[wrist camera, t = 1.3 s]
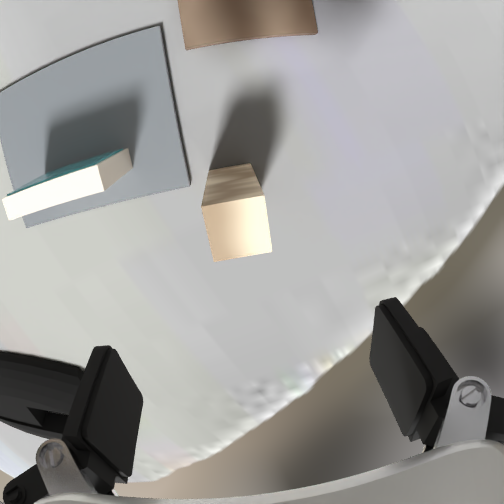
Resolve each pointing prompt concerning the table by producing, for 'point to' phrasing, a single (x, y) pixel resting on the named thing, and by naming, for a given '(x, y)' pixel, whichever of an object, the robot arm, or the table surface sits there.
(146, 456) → the table surface
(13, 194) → the tile
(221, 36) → the plate
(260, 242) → the block
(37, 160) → the mat
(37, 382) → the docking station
